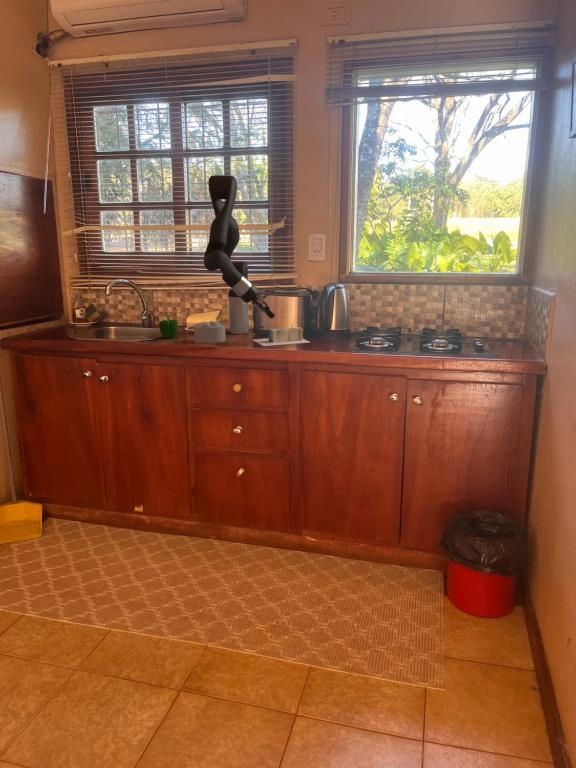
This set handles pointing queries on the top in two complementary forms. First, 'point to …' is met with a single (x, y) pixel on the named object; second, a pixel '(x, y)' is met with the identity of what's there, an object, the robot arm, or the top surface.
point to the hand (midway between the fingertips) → (273, 317)
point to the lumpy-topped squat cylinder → (209, 332)
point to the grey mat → (268, 343)
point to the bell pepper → (168, 328)
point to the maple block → (285, 334)
